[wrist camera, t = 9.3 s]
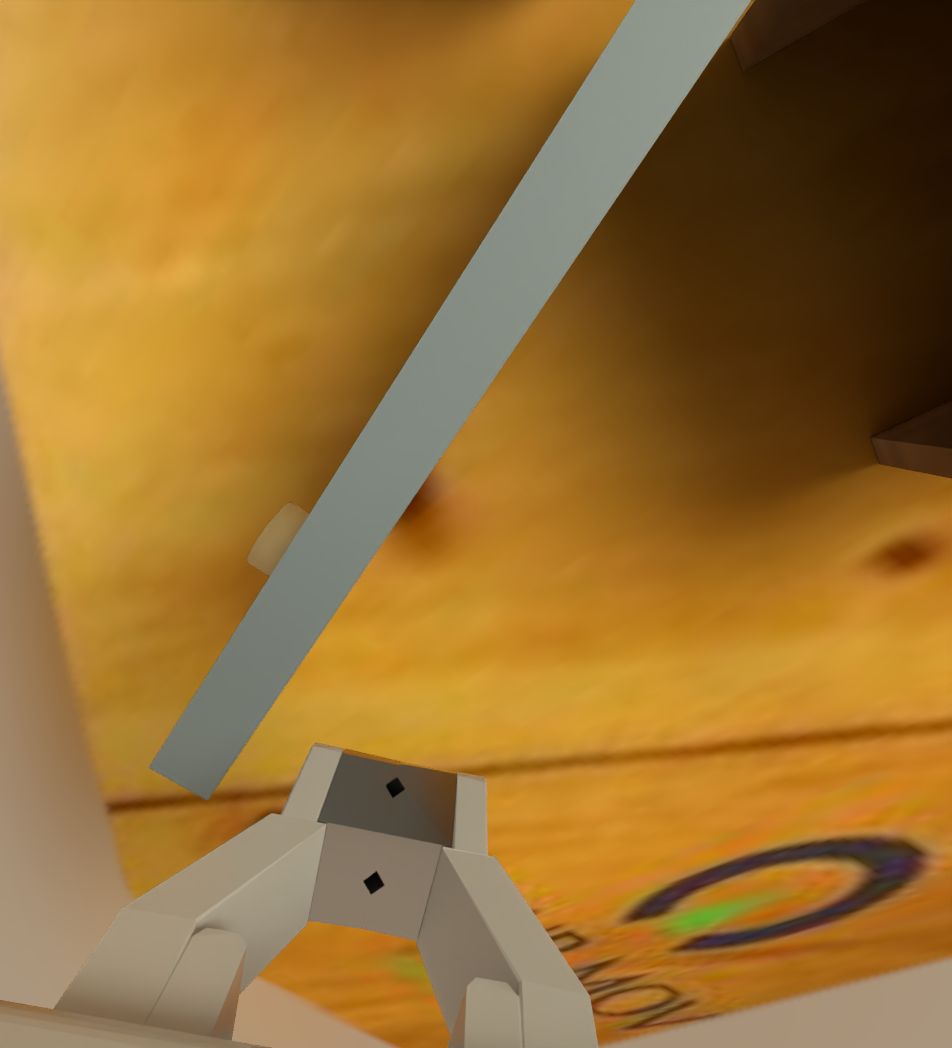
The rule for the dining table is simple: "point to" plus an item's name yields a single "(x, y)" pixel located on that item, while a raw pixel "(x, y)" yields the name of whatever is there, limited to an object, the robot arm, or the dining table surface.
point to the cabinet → (769, 25)
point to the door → (446, 373)
